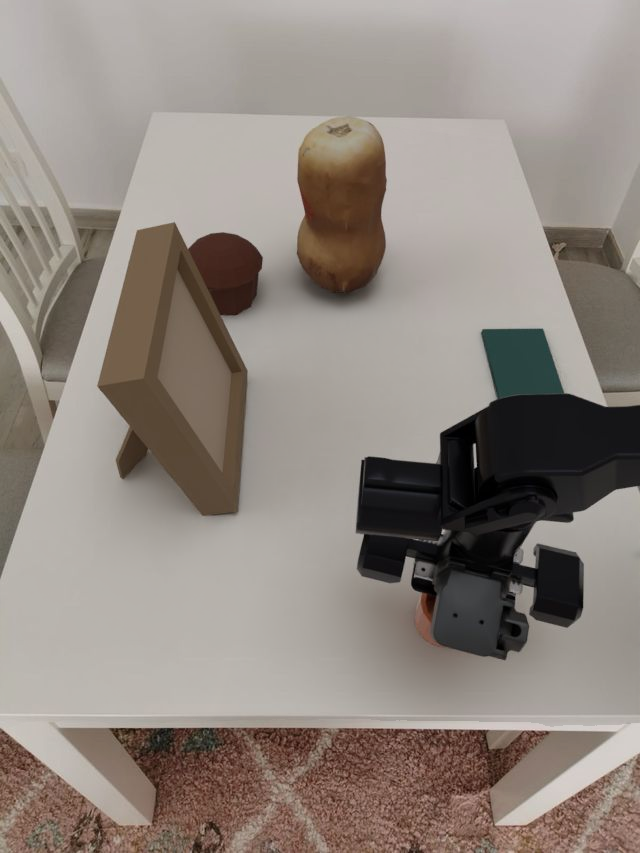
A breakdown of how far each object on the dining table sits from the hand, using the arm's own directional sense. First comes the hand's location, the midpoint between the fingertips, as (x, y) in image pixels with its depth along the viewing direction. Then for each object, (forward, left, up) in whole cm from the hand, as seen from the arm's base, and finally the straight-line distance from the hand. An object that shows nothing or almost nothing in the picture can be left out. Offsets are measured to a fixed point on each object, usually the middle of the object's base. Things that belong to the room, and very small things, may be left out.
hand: (451, 598), depth 60 cm
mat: (-7, -36, -7) cm, 37 cm away
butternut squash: (+23, -50, -7) cm, 55 cm away
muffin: (+39, -42, -7) cm, 58 cm away
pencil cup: (0, 0, -7) cm, 7 cm away
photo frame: (+35, -15, -7) cm, 39 cm away
